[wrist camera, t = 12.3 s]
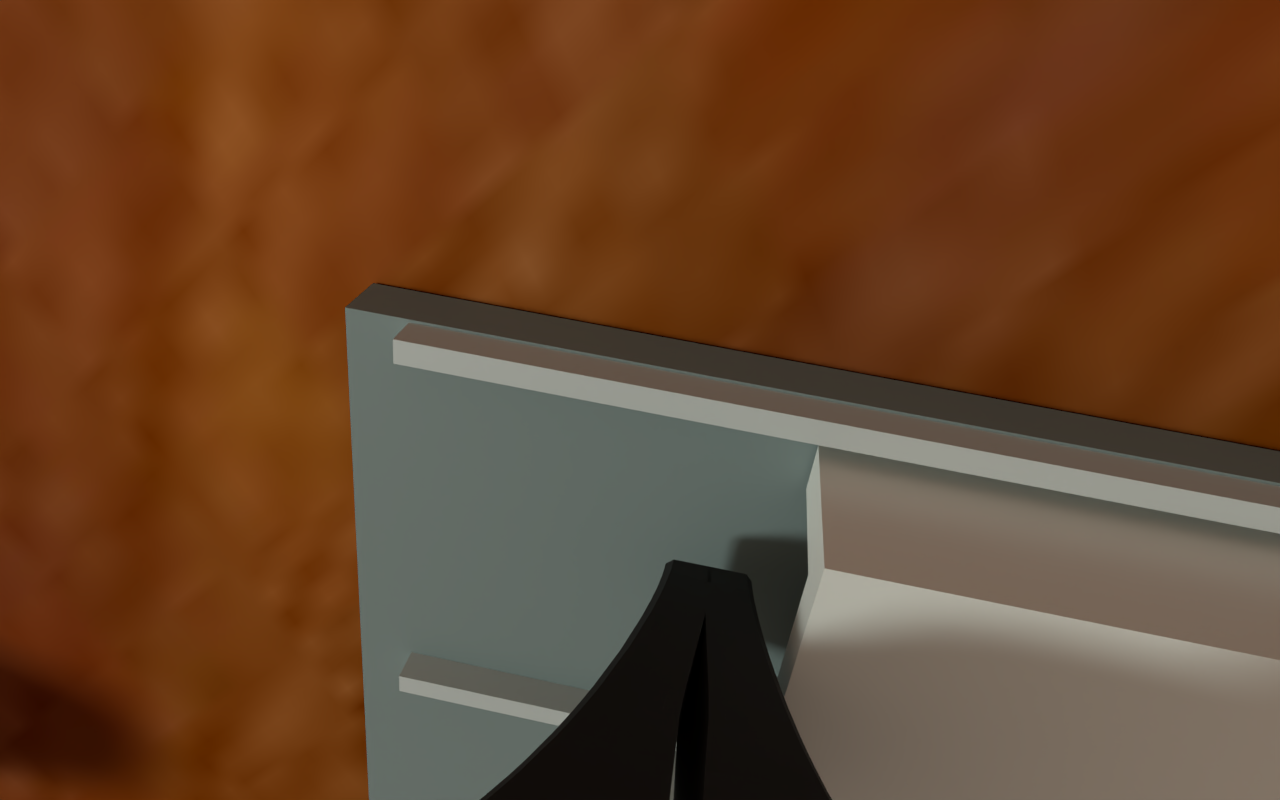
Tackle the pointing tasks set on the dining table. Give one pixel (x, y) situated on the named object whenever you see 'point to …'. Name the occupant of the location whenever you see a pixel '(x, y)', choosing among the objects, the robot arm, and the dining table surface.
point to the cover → (1029, 643)
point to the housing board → (638, 503)
